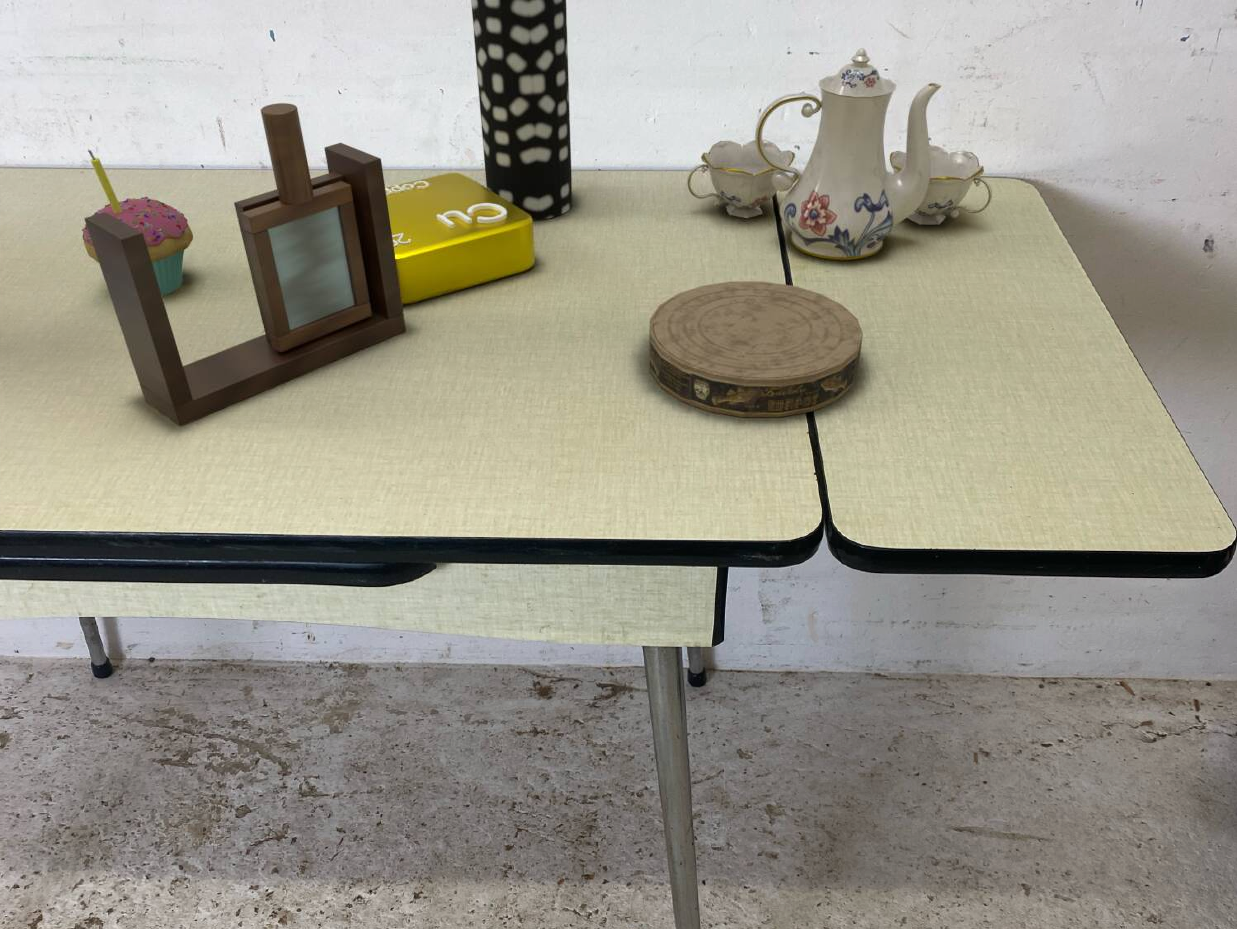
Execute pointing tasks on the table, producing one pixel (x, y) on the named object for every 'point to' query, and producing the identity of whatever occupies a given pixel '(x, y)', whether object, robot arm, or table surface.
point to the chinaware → (846, 169)
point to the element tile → (455, 236)
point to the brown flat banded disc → (754, 349)
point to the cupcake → (149, 231)
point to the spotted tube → (525, 102)
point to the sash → (304, 244)
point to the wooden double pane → (256, 360)
